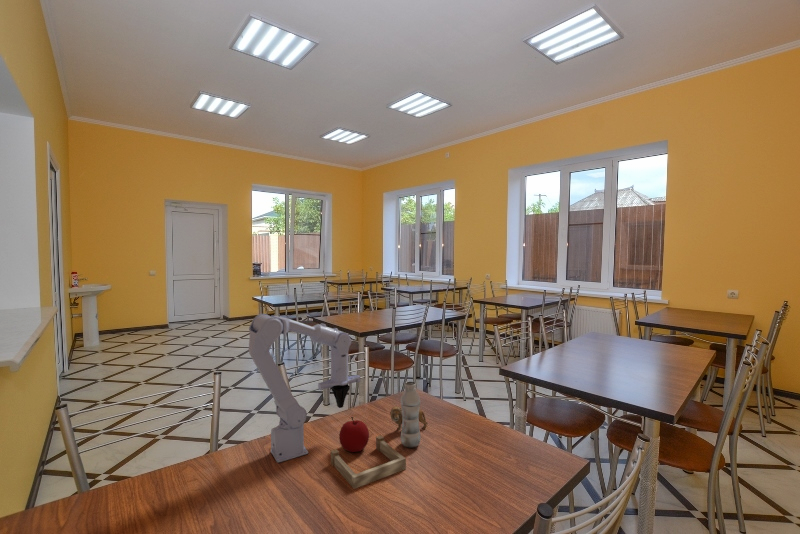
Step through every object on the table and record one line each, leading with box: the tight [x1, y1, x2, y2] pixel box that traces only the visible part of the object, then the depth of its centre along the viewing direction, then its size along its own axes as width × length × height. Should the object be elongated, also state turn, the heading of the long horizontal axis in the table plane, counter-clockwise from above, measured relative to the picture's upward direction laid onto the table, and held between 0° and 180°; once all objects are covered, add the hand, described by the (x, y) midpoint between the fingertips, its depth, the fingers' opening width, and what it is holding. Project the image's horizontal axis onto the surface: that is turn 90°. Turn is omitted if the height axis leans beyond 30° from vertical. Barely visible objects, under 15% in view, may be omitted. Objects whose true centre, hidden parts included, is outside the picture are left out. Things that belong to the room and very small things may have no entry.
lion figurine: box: [390, 406, 429, 431], centre depth 131 cm, size 15×5×9 cm, turn 119°
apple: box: [338, 416, 370, 453], centre depth 118 cm, size 9×9×10 cm
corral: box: [330, 434, 407, 490], centre depth 109 cm, size 17×14×4 cm
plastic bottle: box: [400, 380, 422, 448], centre depth 120 cm, size 6×7×20 cm
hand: (340, 406), depth 127 cm, fingers closed
